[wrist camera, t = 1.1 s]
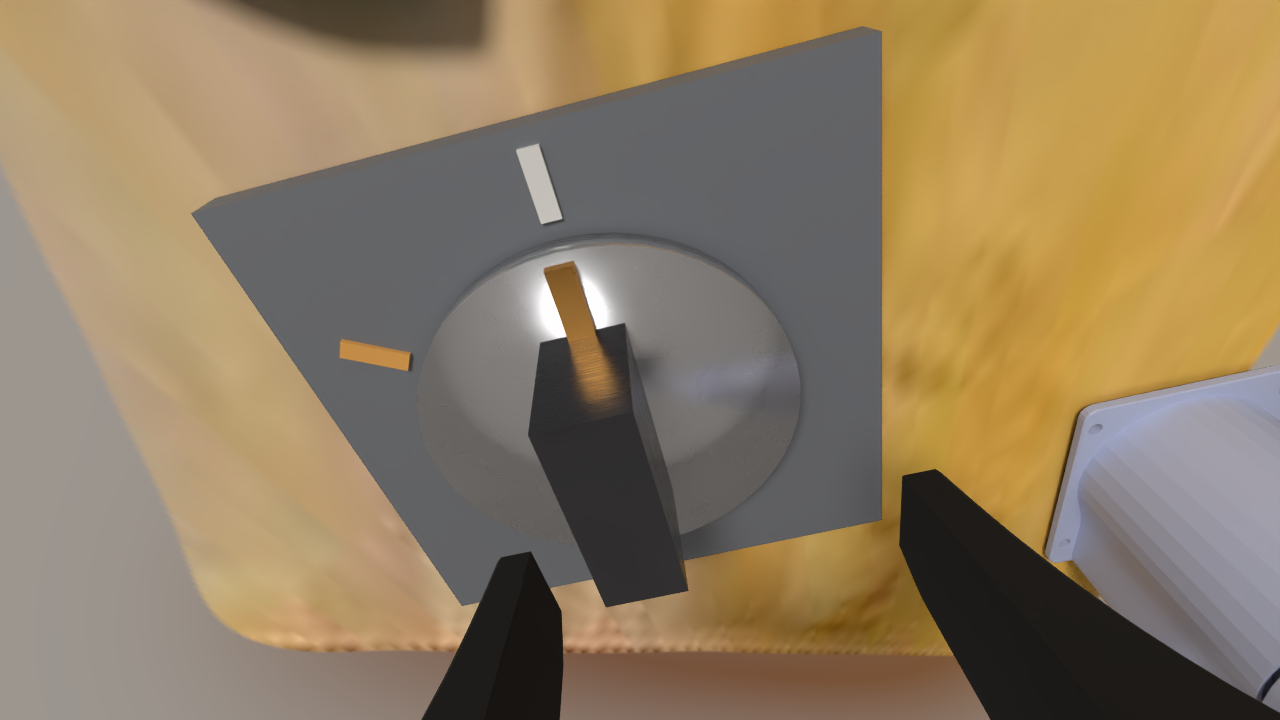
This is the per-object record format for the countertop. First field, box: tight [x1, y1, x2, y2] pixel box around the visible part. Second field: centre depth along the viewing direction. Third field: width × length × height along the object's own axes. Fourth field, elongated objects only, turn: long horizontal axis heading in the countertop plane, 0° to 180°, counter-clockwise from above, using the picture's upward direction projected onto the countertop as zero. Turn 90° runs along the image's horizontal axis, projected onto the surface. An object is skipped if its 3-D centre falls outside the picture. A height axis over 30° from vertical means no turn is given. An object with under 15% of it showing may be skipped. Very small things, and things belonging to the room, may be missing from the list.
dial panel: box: [191, 27, 882, 606], centre depth 20 cm, size 18×18×1 cm
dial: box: [417, 232, 801, 607], centre depth 18 cm, size 12×12×5 cm
